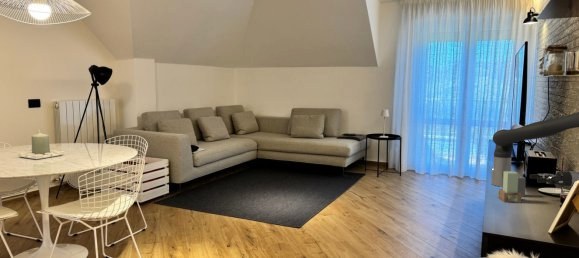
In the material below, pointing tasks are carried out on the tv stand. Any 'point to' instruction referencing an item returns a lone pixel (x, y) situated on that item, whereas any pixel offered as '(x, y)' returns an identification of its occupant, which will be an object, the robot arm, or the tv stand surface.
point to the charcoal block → (521, 185)
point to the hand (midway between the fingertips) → (533, 178)
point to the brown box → (509, 197)
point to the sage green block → (510, 182)
